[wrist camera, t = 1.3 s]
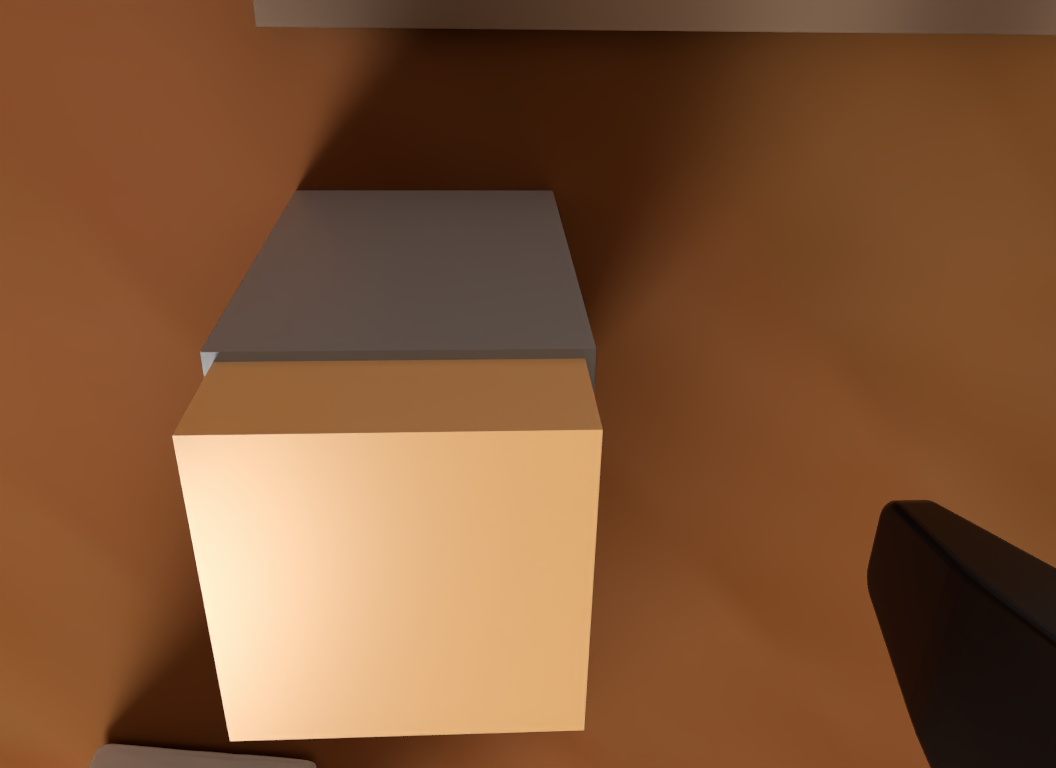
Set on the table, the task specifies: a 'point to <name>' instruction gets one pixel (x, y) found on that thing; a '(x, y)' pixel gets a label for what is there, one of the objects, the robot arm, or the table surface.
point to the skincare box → (184, 759)
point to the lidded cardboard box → (399, 471)
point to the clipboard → (672, 15)
